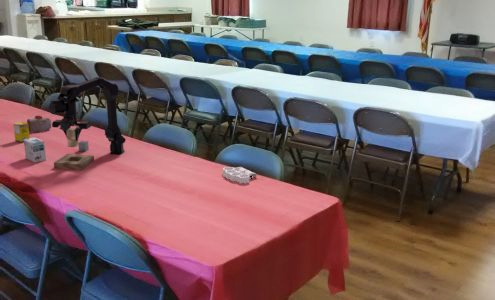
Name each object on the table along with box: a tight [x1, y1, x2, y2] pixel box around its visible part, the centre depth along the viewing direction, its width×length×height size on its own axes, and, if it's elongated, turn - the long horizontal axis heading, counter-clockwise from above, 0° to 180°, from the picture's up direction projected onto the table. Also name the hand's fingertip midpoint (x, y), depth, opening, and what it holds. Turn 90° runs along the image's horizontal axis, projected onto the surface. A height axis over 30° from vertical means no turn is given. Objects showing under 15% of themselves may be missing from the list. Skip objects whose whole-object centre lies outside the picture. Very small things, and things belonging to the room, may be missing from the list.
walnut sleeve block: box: [53, 153, 95, 171], centre depth 277 cm, size 15×15×3 cm
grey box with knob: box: [26, 115, 52, 134], centre depth 337 cm, size 14×8×10 cm, turn 132°
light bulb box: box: [23, 137, 47, 163], centre depth 282 cm, size 11×7×11 cm, turn 47°
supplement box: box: [13, 121, 31, 144], centre depth 314 cm, size 6×6×11 cm
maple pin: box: [66, 127, 79, 148], centre depth 273 cm, size 4×4×9 cm
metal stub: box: [78, 140, 89, 153], centre depth 300 cm, size 4×4×5 cm
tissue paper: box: [222, 166, 258, 184], centre depth 264 cm, size 3×18×15 cm
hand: (72, 140), depth 273 cm, fingers closed on maple pin, 4 cm apart
